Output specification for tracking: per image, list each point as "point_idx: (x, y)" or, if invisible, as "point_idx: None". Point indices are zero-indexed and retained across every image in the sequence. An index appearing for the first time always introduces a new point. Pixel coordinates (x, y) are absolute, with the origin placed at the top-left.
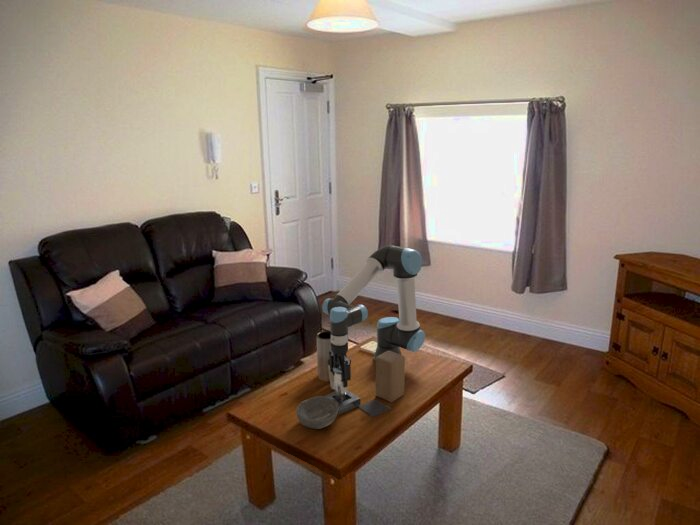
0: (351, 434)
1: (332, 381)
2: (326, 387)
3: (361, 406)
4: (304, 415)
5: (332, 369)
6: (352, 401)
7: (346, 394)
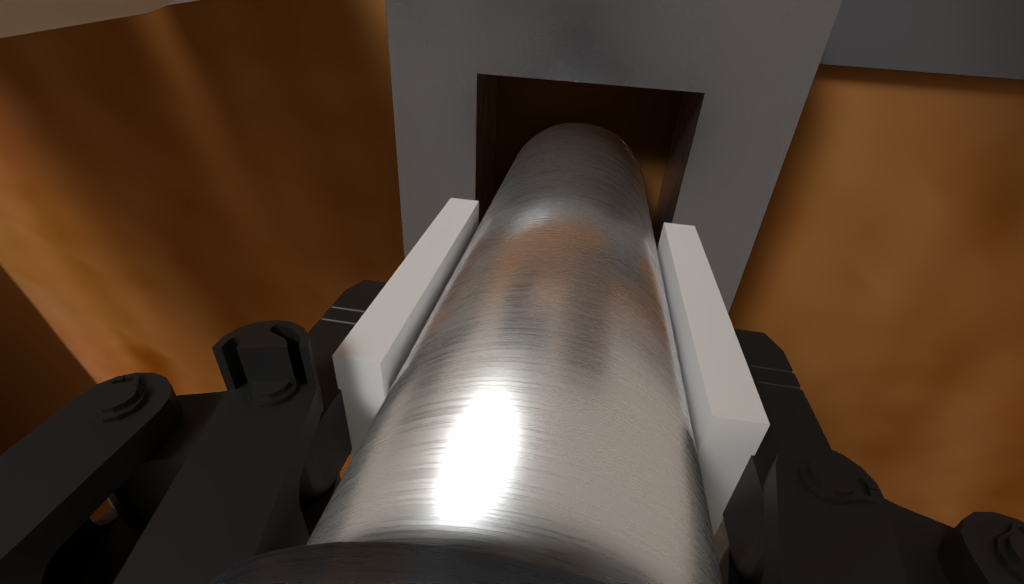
0: (998, 436)
1: (147, 11)
2: (163, 34)
3: (855, 26)
4: None
5: (147, 515)
6: (780, 165)
7: (560, 79)
